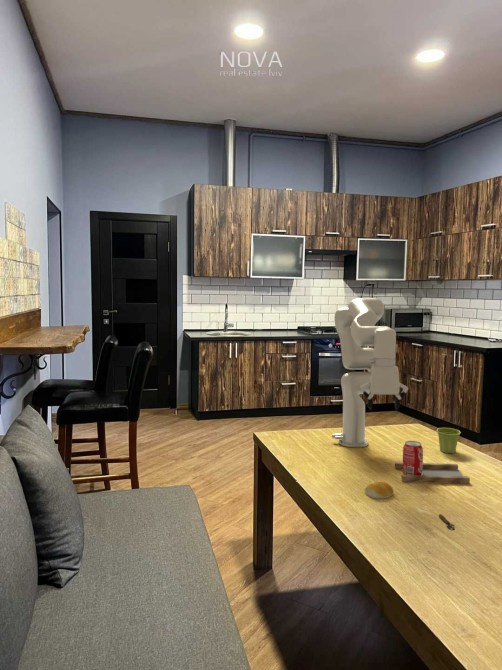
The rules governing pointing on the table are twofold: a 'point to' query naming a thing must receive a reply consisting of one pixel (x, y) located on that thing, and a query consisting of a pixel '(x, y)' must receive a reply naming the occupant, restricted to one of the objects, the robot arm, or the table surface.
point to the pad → (441, 472)
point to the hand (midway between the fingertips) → (383, 409)
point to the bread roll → (379, 490)
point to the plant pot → (448, 439)
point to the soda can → (412, 458)
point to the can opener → (446, 522)
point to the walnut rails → (434, 478)
